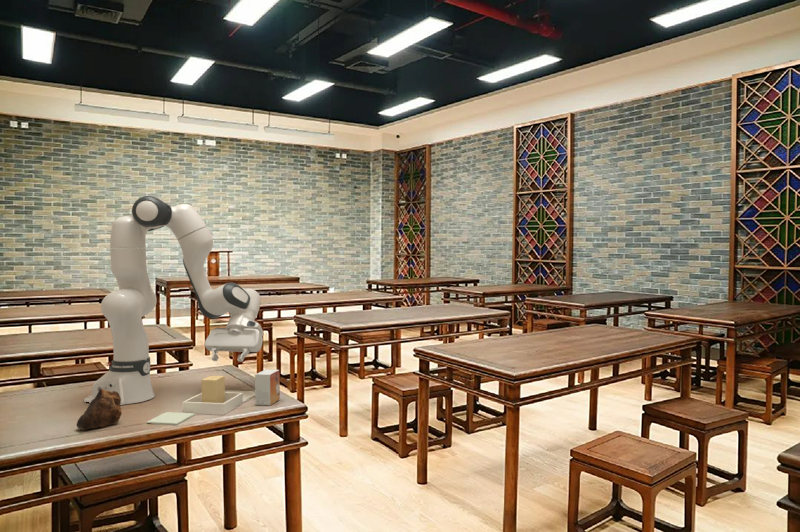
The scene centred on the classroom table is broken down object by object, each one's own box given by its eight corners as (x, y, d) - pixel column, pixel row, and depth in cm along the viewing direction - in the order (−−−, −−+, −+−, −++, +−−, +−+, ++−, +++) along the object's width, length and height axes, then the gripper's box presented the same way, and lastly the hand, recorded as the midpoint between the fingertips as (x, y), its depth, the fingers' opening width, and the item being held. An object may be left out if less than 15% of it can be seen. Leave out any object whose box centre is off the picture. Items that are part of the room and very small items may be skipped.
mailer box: (182, 412, 174) (182, 402, 174) (222, 391, 200) (222, 382, 200) (224, 414, 171) (223, 403, 171) (259, 392, 197) (259, 383, 197)
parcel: (201, 410, 176) (201, 379, 176) (211, 405, 182) (210, 375, 182) (216, 411, 176) (215, 380, 175) (225, 405, 182) (224, 376, 181)
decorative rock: (118, 419, 168) (117, 384, 167) (125, 423, 163) (125, 388, 163) (74, 429, 159) (73, 392, 158) (81, 433, 155) (80, 396, 154)
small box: (270, 406, 181) (269, 374, 181) (254, 405, 182) (254, 374, 182) (280, 399, 189) (279, 369, 188) (265, 398, 190) (264, 368, 190)
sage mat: (146, 423, 163) (146, 421, 163) (166, 413, 173) (166, 412, 173) (176, 425, 162) (176, 423, 162) (195, 415, 171) (195, 413, 171)
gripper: (209, 322, 197) (195, 354, 187) (262, 323, 193) (251, 355, 184) (215, 332, 201) (202, 364, 192) (268, 333, 198) (257, 366, 188)
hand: (226, 360), depth 188 cm, fingers open, 8 cm apart
